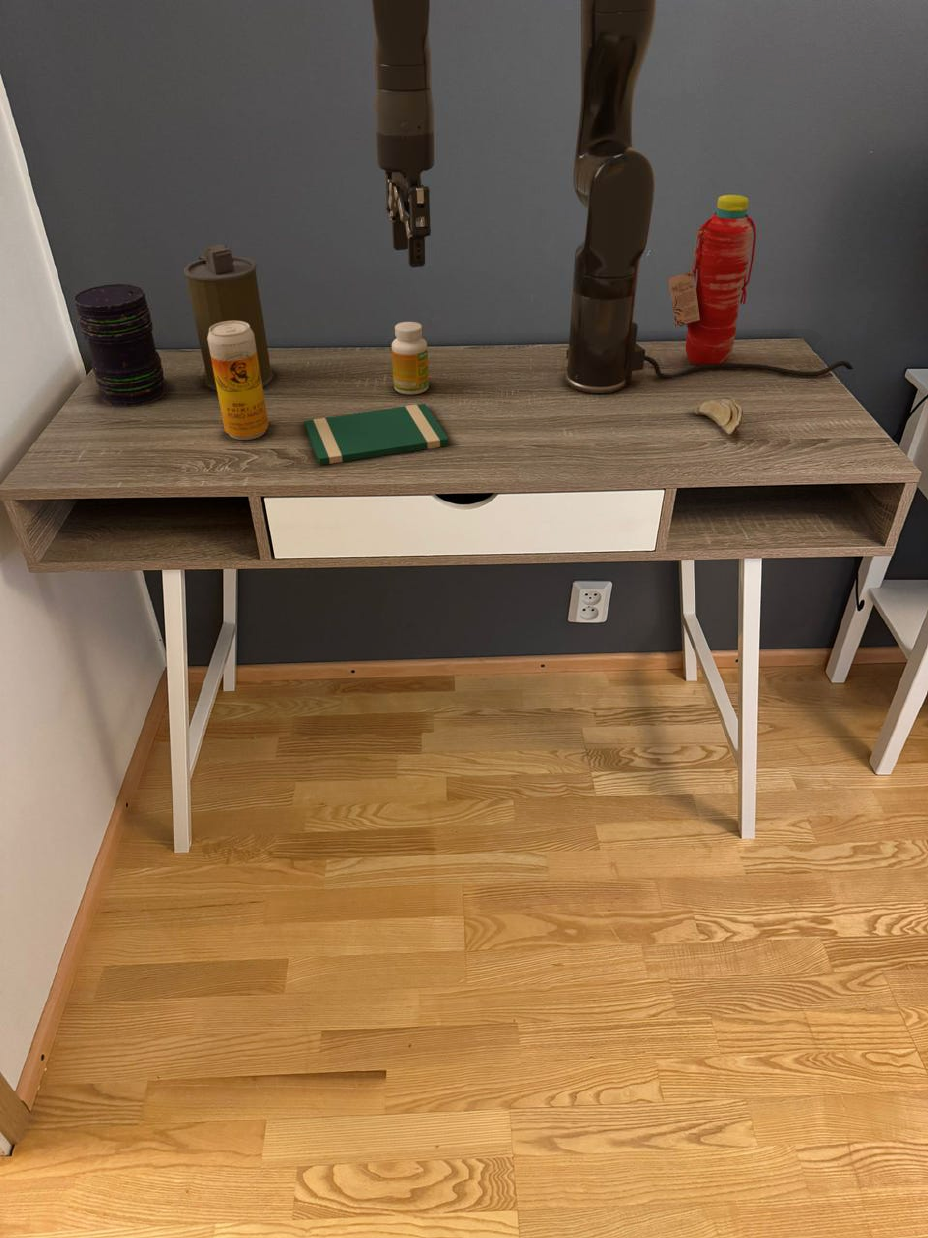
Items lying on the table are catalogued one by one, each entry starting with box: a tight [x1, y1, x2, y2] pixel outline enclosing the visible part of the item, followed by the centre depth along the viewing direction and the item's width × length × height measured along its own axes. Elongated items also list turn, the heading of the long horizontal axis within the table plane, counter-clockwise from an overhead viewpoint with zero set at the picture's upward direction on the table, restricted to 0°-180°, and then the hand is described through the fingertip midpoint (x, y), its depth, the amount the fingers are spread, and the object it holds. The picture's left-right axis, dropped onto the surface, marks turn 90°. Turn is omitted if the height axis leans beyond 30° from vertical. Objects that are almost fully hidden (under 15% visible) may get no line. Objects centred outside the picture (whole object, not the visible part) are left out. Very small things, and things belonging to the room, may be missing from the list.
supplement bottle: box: [391, 321, 430, 395], centre depth 134 cm, size 5×5×10 cm
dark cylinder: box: [73, 283, 167, 407], centre depth 131 cm, size 10×10×15 cm
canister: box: [183, 243, 274, 392], centre depth 134 cm, size 11×10×20 cm
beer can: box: [207, 321, 269, 441], centre depth 121 cm, size 6×6×15 cm
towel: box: [303, 403, 450, 466], centre depth 124 cm, size 18×12×1 cm, turn 108°
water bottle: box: [668, 194, 757, 366], centre depth 136 cm, size 12×8×25 cm, turn 91°
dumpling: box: [694, 397, 744, 438], centre depth 125 cm, size 6×4×10 cm
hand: (408, 257), depth 124 cm, fingers open, 8 cm apart
